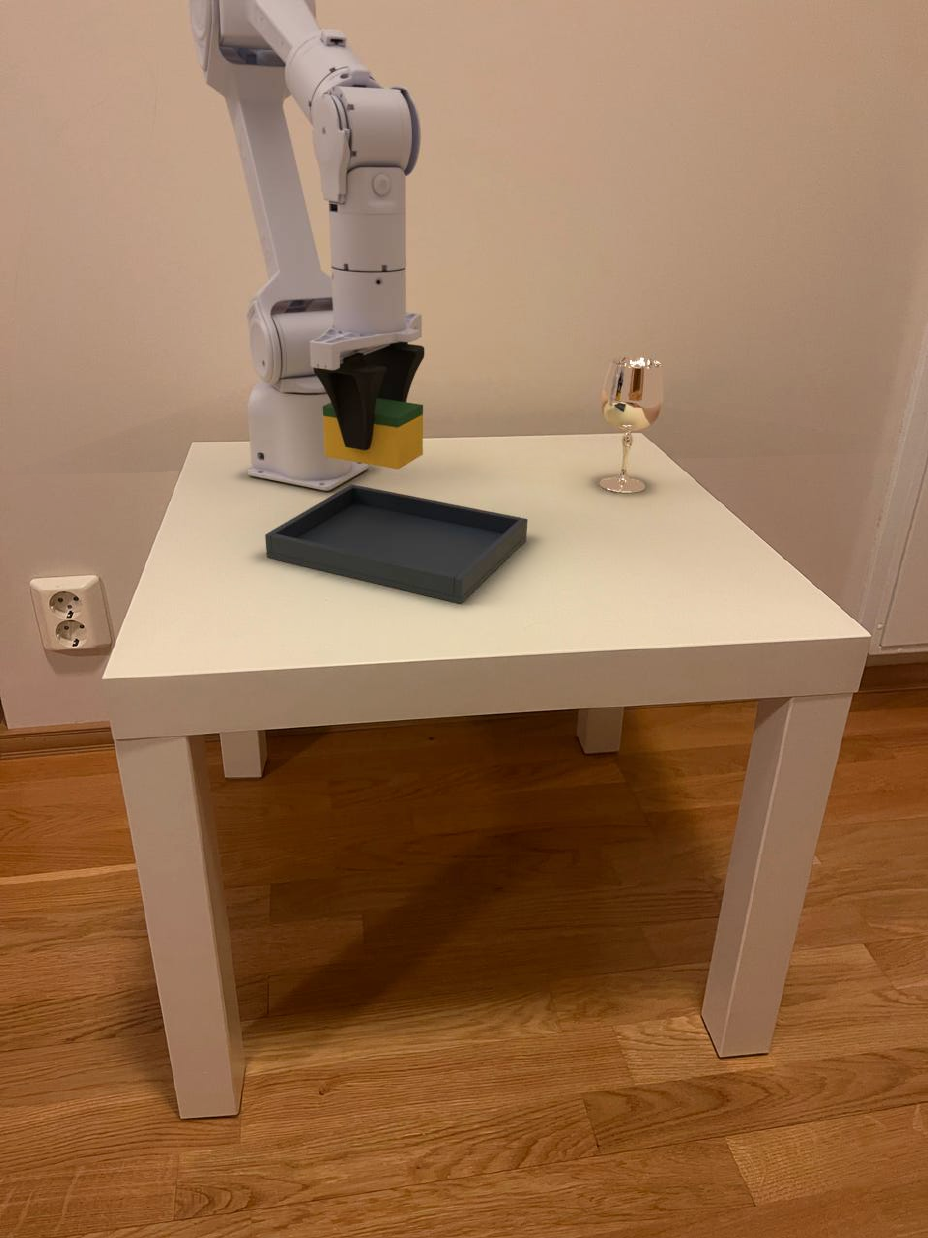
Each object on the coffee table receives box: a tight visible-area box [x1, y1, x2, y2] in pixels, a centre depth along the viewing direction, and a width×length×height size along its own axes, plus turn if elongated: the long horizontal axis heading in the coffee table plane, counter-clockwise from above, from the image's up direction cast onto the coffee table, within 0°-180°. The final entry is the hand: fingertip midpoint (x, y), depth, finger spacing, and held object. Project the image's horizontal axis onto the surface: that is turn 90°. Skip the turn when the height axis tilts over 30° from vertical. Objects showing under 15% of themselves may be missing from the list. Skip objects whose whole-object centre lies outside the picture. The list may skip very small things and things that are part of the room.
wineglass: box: [599, 356, 665, 494], centre depth 87 cm, size 6×6×12 cm
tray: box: [264, 484, 528, 605], centre depth 74 cm, size 17×13×2 cm
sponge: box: [323, 398, 424, 470], centre depth 76 cm, size 7×4×4 cm, turn 66°
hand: (372, 439), depth 76 cm, fingers closed on sponge, 4 cm apart
